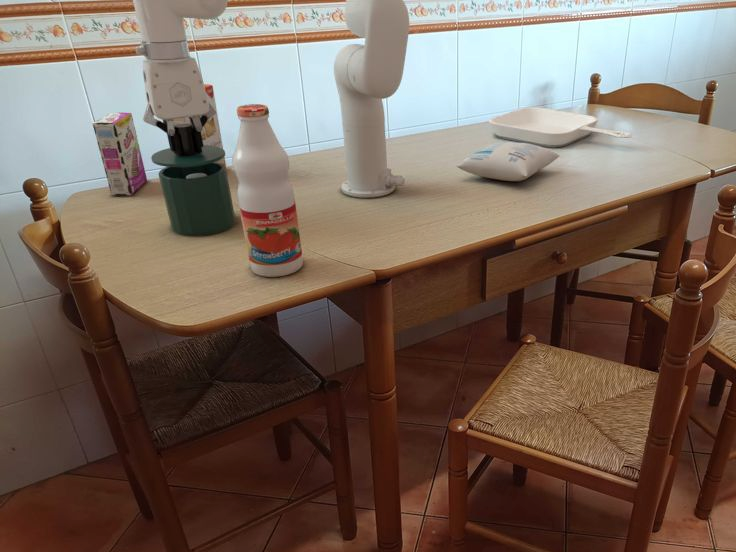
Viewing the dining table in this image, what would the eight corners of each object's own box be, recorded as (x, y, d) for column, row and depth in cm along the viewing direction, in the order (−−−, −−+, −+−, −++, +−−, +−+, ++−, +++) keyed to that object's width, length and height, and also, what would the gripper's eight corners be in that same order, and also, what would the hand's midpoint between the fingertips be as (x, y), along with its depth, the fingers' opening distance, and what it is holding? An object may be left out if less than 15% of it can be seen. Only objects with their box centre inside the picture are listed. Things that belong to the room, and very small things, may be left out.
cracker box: (199, 186, 158) (180, 94, 147) (177, 184, 159) (156, 93, 148) (229, 169, 170) (213, 83, 159) (207, 168, 171) (190, 82, 160)
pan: (527, 120, 218) (528, 105, 216) (648, 140, 197) (650, 125, 195) (481, 136, 200) (481, 121, 197) (609, 161, 179) (611, 144, 176)
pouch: (495, 131, 174) (456, 145, 159) (561, 143, 167) (528, 160, 152) (493, 161, 179) (455, 178, 163) (558, 174, 171) (524, 193, 156)
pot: (245, 216, 142) (236, 163, 136) (215, 238, 131) (204, 181, 125) (193, 212, 144) (181, 159, 138) (159, 233, 134) (145, 177, 127)
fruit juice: (297, 253, 126) (276, 98, 111) (308, 272, 118) (287, 110, 104) (246, 261, 122) (217, 103, 108) (255, 282, 115) (225, 115, 100)
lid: (238, 153, 135) (232, 119, 131) (203, 172, 124) (195, 136, 120) (178, 148, 137) (170, 115, 134) (137, 167, 126) (128, 131, 122)
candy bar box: (133, 196, 152) (114, 123, 143) (111, 196, 152) (90, 123, 143) (149, 181, 162) (132, 111, 153) (128, 181, 161) (109, 111, 152)
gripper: (124, 57, 113) (150, 164, 123) (219, 50, 122) (236, 150, 132) (113, 52, 118) (138, 155, 128) (204, 45, 127) (222, 142, 137)
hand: (188, 152), depth 130 cm, fingers closed on lid, 3 cm apart
